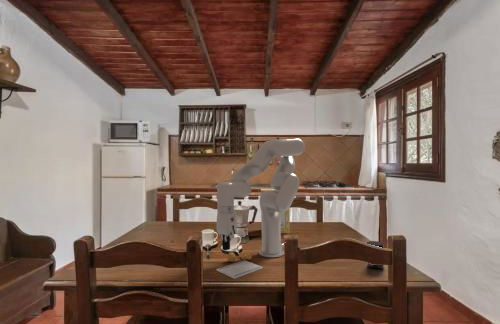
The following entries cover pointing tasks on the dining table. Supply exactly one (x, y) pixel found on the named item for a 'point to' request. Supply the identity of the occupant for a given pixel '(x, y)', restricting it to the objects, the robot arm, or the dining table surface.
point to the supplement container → (379, 246)
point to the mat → (239, 269)
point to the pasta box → (281, 217)
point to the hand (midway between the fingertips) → (226, 249)
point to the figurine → (232, 256)
